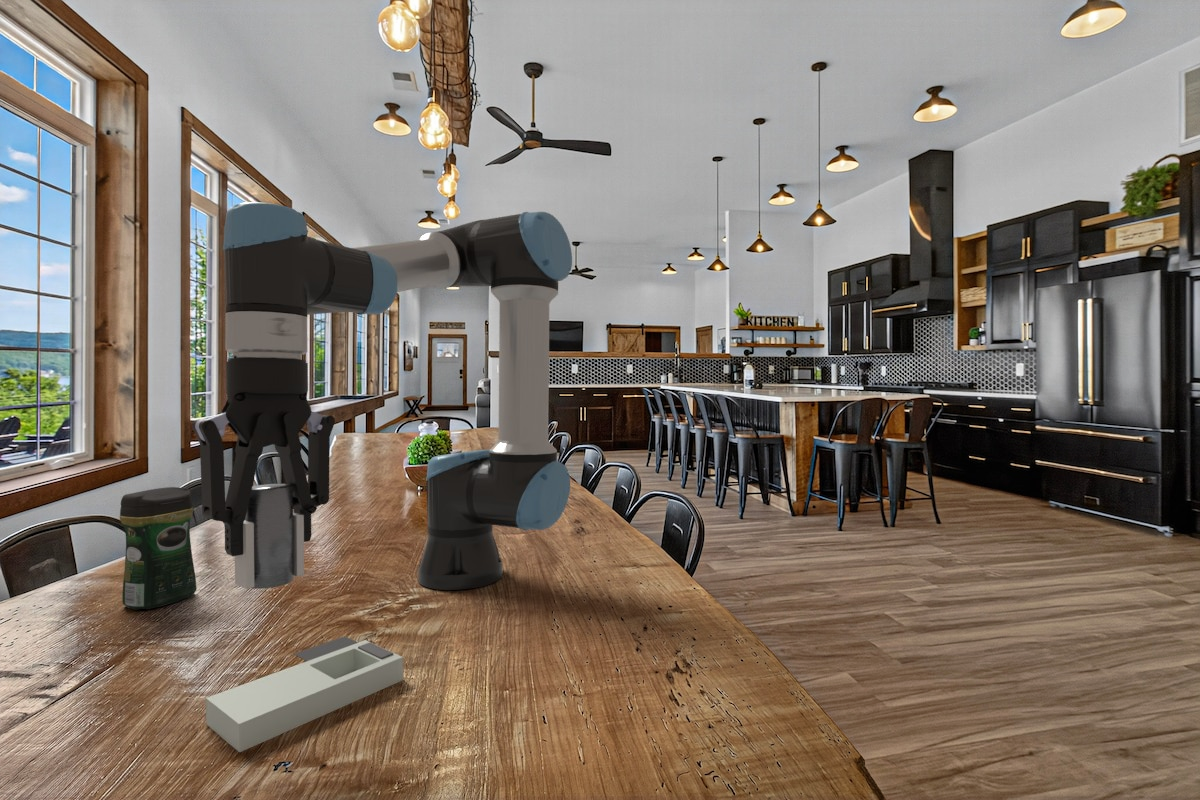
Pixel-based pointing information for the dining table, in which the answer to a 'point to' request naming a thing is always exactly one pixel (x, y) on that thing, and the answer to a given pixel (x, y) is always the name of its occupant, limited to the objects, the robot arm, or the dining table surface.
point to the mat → (325, 648)
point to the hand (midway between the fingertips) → (270, 578)
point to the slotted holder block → (301, 693)
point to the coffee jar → (157, 547)
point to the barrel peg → (272, 534)
